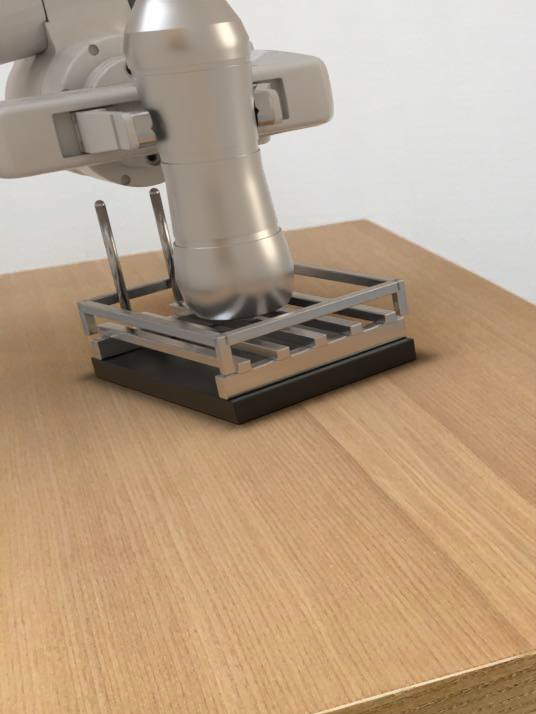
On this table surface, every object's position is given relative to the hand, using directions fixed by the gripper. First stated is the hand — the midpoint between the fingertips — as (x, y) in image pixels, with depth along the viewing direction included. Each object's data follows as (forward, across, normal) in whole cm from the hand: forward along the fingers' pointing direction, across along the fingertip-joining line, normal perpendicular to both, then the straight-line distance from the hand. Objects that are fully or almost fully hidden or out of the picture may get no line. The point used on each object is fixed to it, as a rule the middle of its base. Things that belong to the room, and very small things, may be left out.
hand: (206, 119), depth 65 cm
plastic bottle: (-1, 0, +11) cm, 11 cm away
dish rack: (-1, 0, +14) cm, 14 cm away
